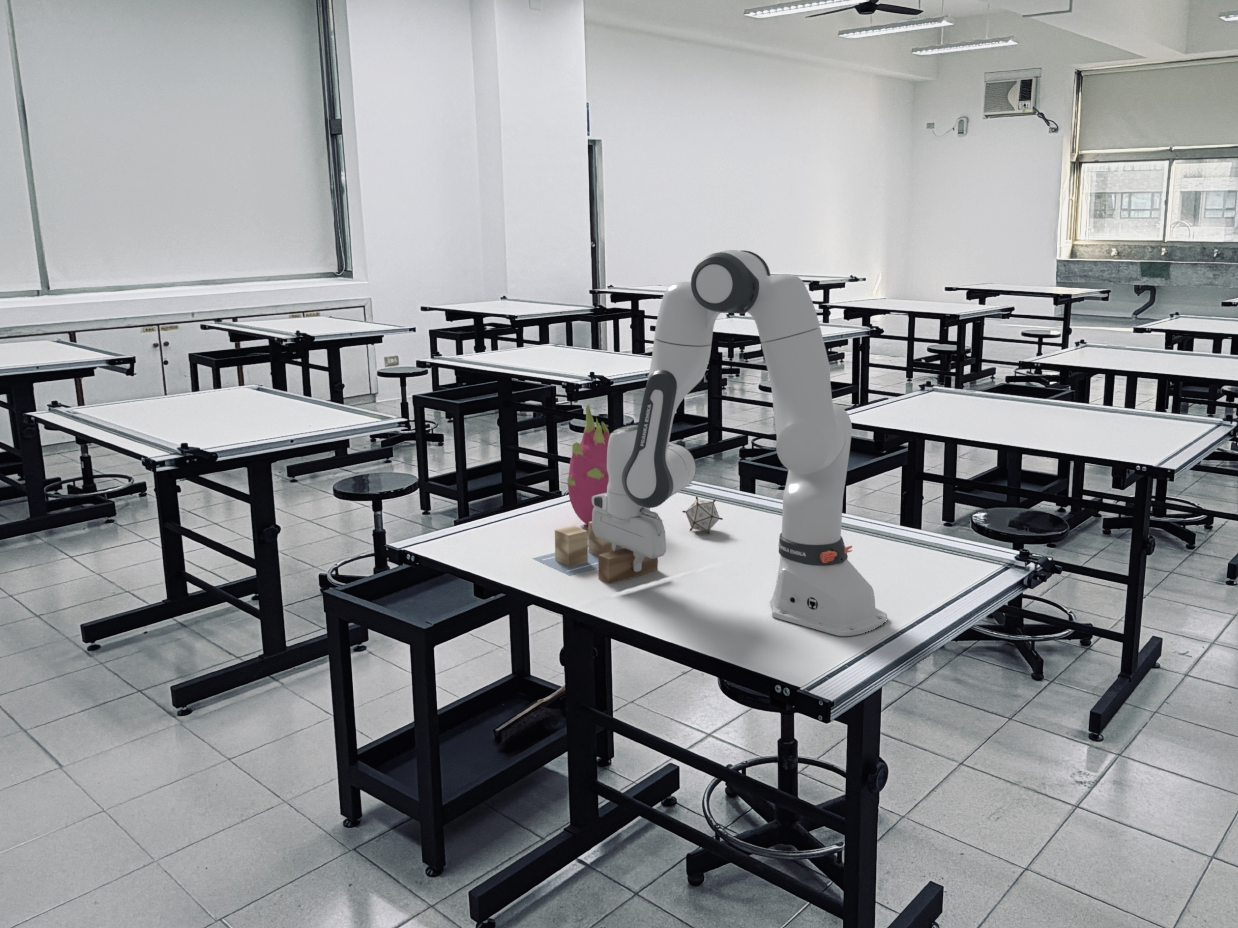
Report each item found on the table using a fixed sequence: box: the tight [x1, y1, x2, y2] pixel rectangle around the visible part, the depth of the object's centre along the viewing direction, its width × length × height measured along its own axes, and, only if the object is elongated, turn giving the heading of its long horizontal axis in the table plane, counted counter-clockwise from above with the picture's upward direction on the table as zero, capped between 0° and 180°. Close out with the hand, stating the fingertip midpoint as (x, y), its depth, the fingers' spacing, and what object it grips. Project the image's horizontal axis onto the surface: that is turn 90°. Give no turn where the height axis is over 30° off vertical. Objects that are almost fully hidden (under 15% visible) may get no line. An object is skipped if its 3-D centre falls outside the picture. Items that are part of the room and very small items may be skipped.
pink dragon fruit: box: [567, 403, 610, 526], centre depth 244 cm, size 18×14×30 cm
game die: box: [681, 495, 723, 535], centre depth 243 cm, size 9×8×10 cm
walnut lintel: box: [597, 548, 659, 585], centre depth 212 cm, size 4×13×6 cm, turn 128°
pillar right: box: [587, 521, 613, 556], centre depth 225 cm, size 5×5×7 cm
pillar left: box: [554, 525, 589, 567], centre depth 220 cm, size 5×5×7 cm
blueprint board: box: [531, 543, 623, 577], centre depth 224 cm, size 14×20×1 cm
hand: (628, 567), depth 213 cm, fingers closed on walnut lintel, 3 cm apart
